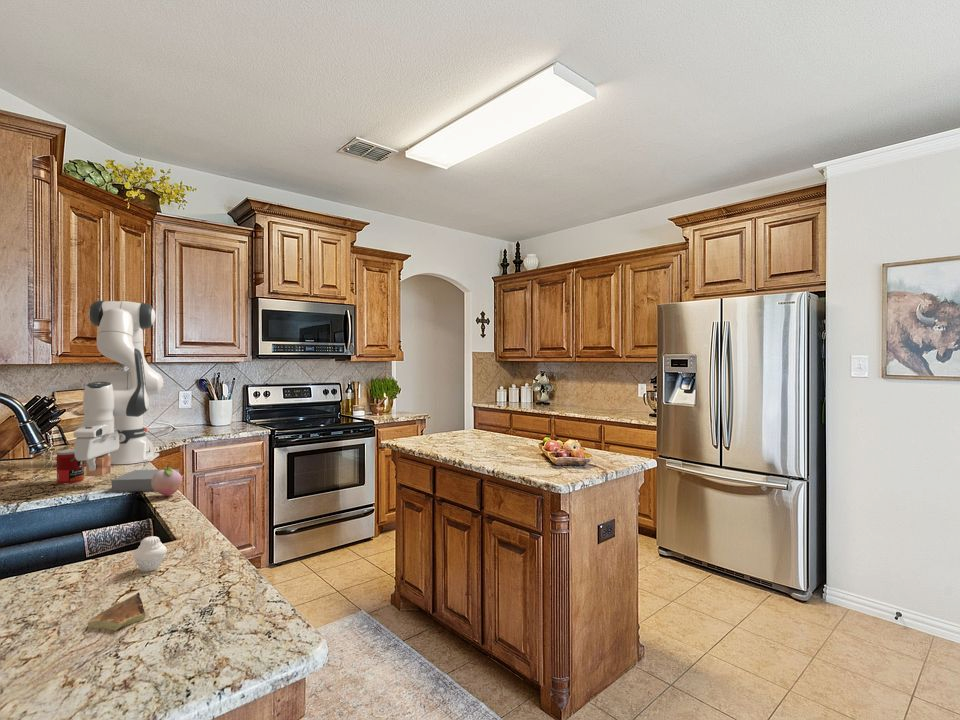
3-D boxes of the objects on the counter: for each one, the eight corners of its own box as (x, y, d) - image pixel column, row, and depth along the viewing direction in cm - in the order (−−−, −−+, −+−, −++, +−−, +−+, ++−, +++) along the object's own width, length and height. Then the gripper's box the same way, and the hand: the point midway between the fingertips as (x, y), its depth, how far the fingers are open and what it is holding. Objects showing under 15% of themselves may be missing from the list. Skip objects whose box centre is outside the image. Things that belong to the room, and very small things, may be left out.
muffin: (125, 573, 107) (125, 540, 107) (148, 562, 113) (148, 530, 113) (152, 575, 106) (152, 542, 106) (173, 563, 112) (174, 532, 112)
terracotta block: (94, 472, 181) (94, 455, 181) (110, 472, 181) (110, 455, 181) (86, 476, 176) (86, 458, 176) (102, 475, 176) (102, 458, 176)
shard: (138, 600, 97) (138, 590, 97) (174, 603, 95) (174, 594, 95) (85, 629, 86) (85, 619, 86) (124, 634, 85) (124, 623, 85)
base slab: (134, 481, 186) (134, 470, 186) (179, 480, 188) (179, 469, 188) (111, 491, 171) (111, 479, 171) (160, 490, 173) (160, 478, 173)
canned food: (72, 484, 181) (72, 453, 181) (50, 483, 181) (50, 452, 181) (89, 479, 189) (89, 449, 189) (68, 478, 189) (68, 448, 189)
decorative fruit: (147, 496, 166) (148, 465, 166) (176, 491, 172) (176, 462, 172) (155, 502, 160) (155, 470, 160) (184, 497, 165) (185, 466, 165)
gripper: (105, 424, 188) (105, 461, 188) (70, 433, 168) (69, 475, 168) (124, 424, 189) (124, 461, 189) (91, 433, 169) (91, 474, 169)
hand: (98, 468), depth 179 cm, fingers closed on terracotta block, 5 cm apart
